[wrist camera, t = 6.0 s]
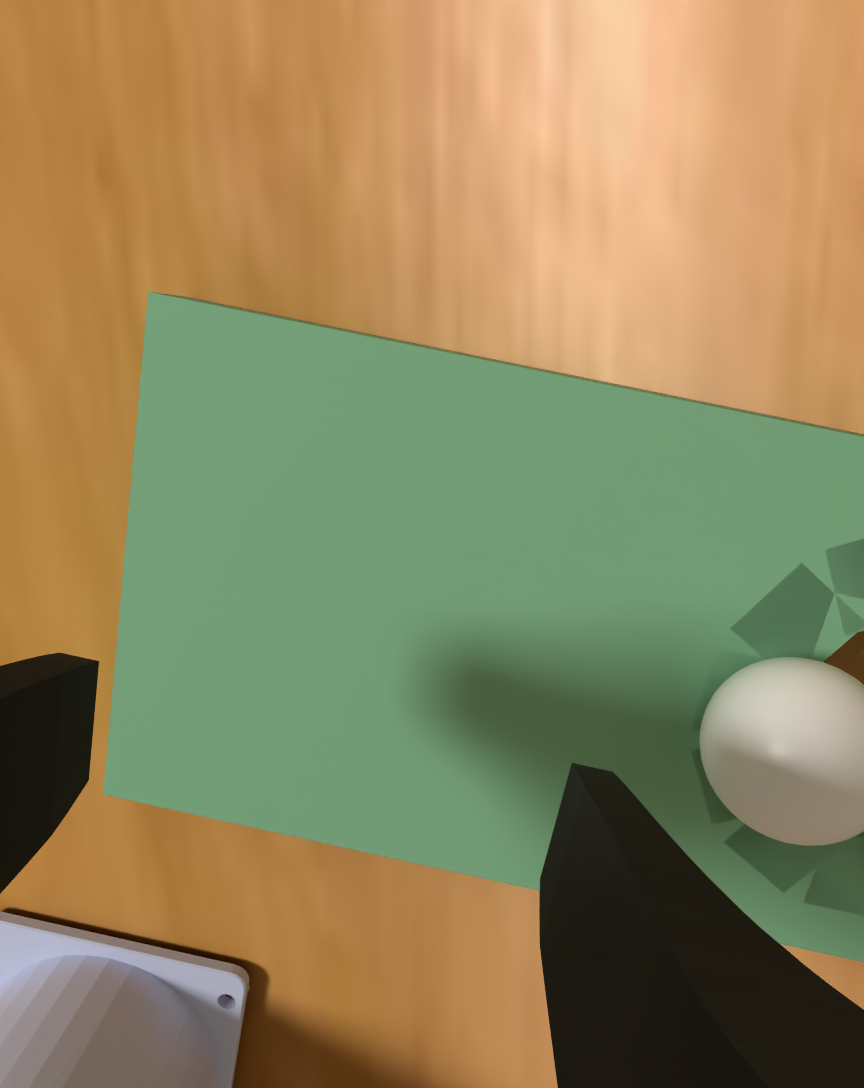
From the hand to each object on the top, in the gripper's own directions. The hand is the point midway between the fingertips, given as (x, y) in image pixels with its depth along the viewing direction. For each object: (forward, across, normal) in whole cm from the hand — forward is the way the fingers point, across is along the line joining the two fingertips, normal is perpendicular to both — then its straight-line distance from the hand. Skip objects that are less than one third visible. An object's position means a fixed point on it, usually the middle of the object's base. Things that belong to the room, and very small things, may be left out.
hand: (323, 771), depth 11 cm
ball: (+4, -10, 0) cm, 11 cm away
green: (+8, -6, 0) cm, 10 cm away
